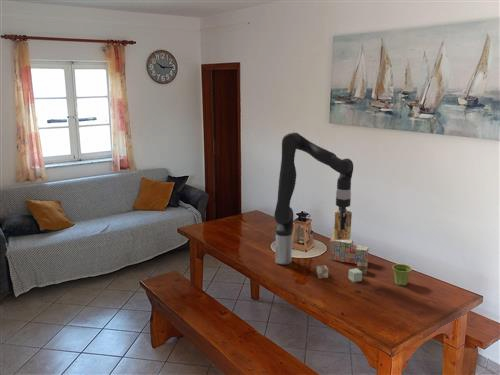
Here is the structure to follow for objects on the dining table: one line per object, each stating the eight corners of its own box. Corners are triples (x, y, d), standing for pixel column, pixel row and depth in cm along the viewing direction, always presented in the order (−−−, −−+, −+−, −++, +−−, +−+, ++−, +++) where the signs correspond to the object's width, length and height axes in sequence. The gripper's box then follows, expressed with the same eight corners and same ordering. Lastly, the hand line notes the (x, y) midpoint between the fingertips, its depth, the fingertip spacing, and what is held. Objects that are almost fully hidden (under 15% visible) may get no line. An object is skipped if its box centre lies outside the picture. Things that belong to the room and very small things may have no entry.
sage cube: (353, 282, 232) (354, 273, 231) (348, 278, 237) (348, 269, 236) (361, 280, 234) (362, 271, 233) (356, 276, 239) (356, 268, 237)
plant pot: (401, 288, 225) (402, 273, 222) (387, 281, 233) (388, 266, 231) (414, 284, 229) (415, 269, 227) (400, 277, 237) (401, 262, 235)
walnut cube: (356, 273, 242) (357, 265, 241) (357, 270, 247) (358, 261, 246) (366, 275, 241) (366, 266, 239) (366, 271, 245) (367, 262, 244)
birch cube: (318, 278, 237) (319, 269, 236) (316, 274, 242) (316, 265, 241) (328, 277, 238) (328, 269, 236) (325, 273, 242) (325, 265, 241)
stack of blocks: (368, 262, 258) (369, 242, 255) (365, 266, 252) (366, 245, 249) (332, 255, 267) (332, 236, 264) (329, 259, 262) (329, 239, 259)
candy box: (348, 237, 241) (350, 210, 237) (350, 240, 237) (352, 212, 233) (332, 237, 240) (333, 210, 237) (334, 240, 236) (335, 212, 233)
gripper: (334, 193, 240) (333, 223, 244) (337, 200, 226) (336, 232, 230) (348, 193, 239) (347, 223, 244) (352, 200, 226) (350, 232, 230)
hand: (341, 227), depth 237 cm, fingers closed on candy box, 4 cm apart
